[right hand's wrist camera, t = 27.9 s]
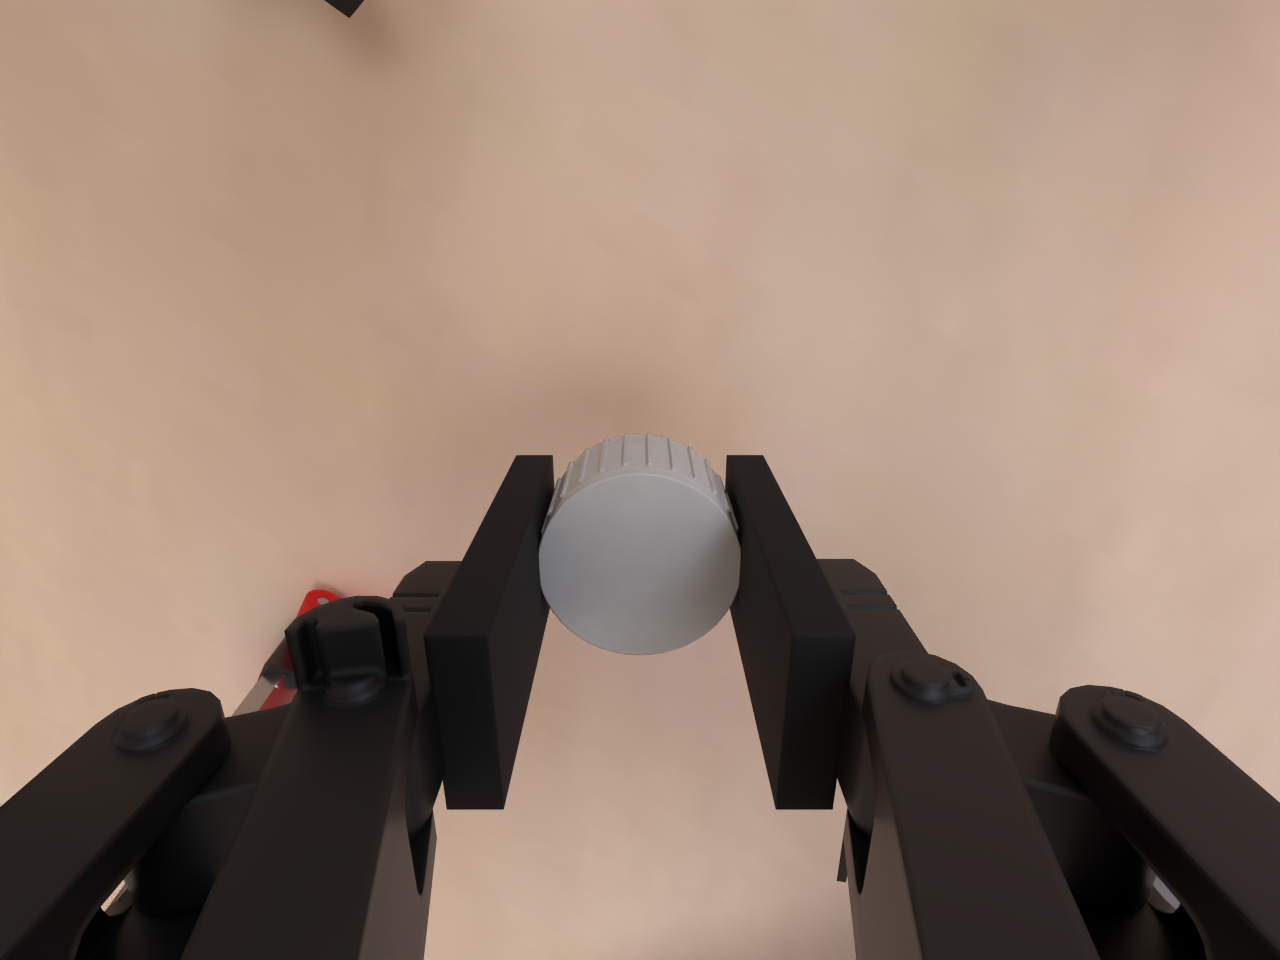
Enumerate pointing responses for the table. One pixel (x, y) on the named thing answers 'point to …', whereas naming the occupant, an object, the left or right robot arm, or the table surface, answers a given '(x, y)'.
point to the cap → (639, 546)
